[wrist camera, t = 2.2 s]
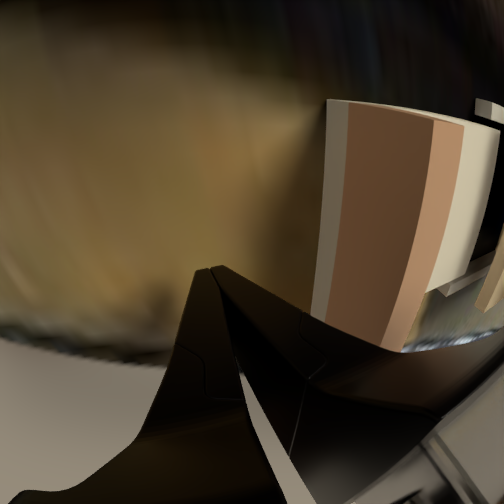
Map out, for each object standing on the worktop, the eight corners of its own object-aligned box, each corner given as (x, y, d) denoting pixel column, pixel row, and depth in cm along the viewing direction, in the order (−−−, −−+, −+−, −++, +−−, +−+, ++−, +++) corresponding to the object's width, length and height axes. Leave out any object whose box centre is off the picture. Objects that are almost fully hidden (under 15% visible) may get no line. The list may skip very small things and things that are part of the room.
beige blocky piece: (481, 124, 13) (547, 150, 9) (450, 263, 18) (499, 302, 14) (323, 98, 10) (434, 120, 5) (308, 313, 15) (362, 387, 11)
